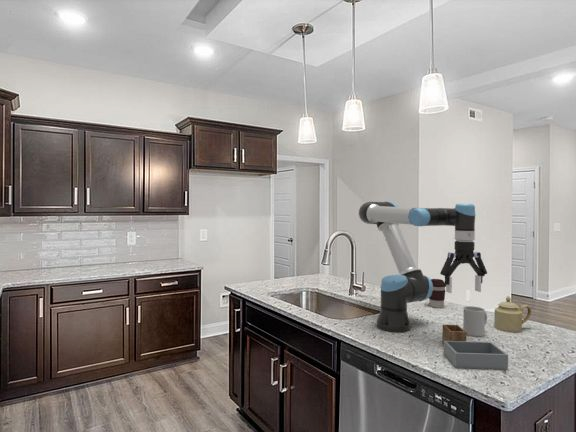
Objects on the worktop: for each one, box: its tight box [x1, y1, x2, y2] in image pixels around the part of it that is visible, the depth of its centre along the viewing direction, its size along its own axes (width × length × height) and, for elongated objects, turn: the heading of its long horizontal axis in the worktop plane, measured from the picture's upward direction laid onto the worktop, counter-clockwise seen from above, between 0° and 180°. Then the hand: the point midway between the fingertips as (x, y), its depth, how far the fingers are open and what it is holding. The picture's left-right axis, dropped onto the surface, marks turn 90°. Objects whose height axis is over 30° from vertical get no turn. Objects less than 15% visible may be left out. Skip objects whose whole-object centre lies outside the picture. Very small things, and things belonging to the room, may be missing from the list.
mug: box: [462, 305, 488, 337], centre depth 169 cm, size 12×8×11 cm
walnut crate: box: [441, 324, 467, 345], centre depth 152 cm, size 6×9×8 cm, turn 176°
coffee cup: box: [428, 278, 446, 309], centre depth 214 cm, size 10×10×15 cm
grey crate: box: [443, 340, 509, 370], centre depth 138 cm, size 17×12×5 cm
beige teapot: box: [493, 295, 532, 333], centre depth 176 cm, size 15×11×15 cm
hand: (463, 291), depth 159 cm, fingers open, 13 cm apart
